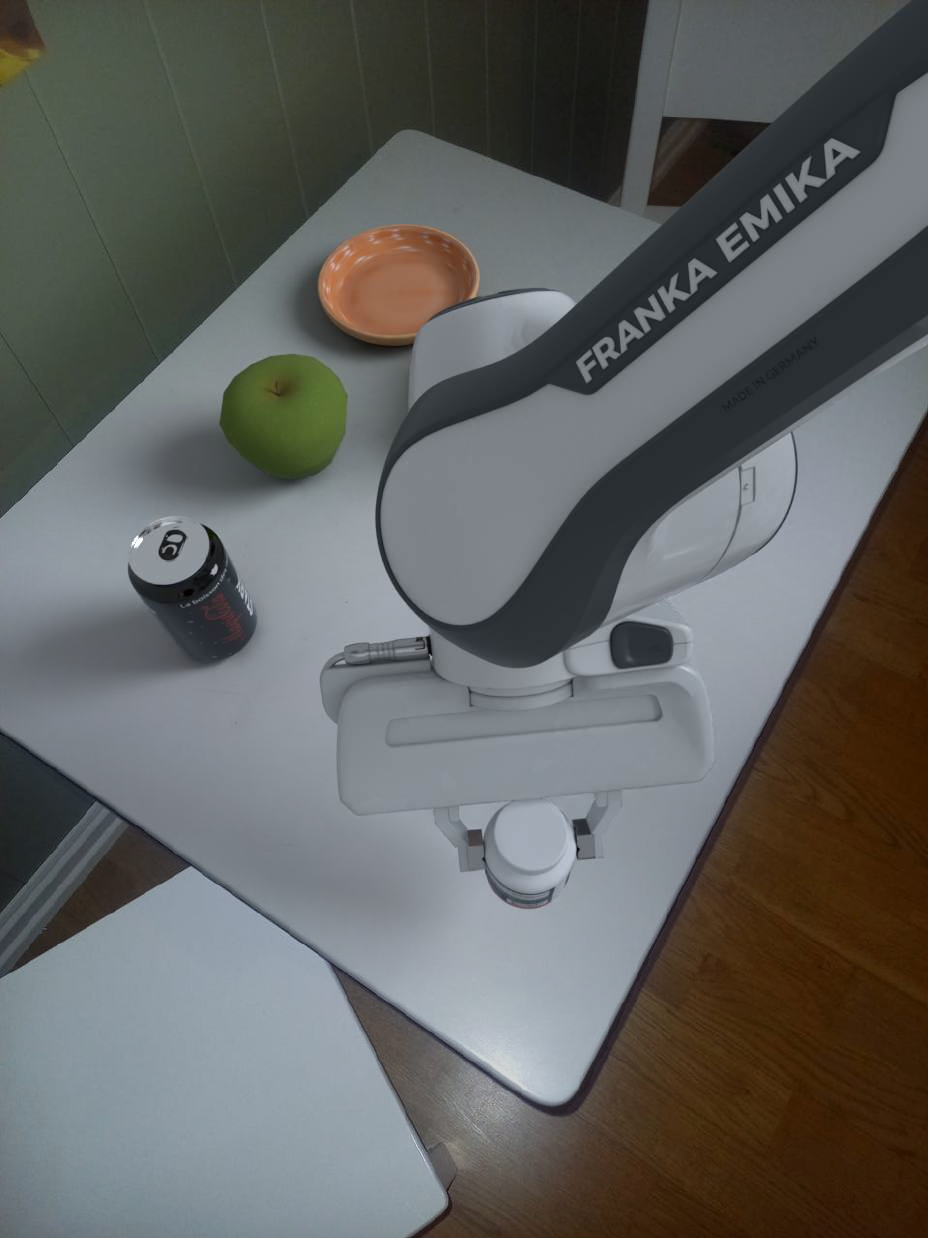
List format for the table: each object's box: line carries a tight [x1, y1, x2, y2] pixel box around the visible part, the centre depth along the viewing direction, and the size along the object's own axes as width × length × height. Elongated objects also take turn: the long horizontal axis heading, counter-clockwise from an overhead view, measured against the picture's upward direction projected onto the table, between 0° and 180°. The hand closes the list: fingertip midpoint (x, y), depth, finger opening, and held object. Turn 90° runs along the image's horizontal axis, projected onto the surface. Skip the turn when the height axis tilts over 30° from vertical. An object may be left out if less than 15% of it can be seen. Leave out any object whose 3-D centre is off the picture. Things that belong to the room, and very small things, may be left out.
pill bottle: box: [483, 798, 577, 910], centre depth 49 cm, size 5×5×9 cm
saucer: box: [317, 223, 480, 347], centre depth 84 cm, size 16×16×3 cm
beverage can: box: [127, 515, 258, 663], centre depth 63 cm, size 7×7×12 cm
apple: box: [219, 353, 349, 480], centre depth 72 cm, size 11×10×10 cm
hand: (531, 859), depth 48 cm, fingers closed on pill bottle, 5 cm apart
